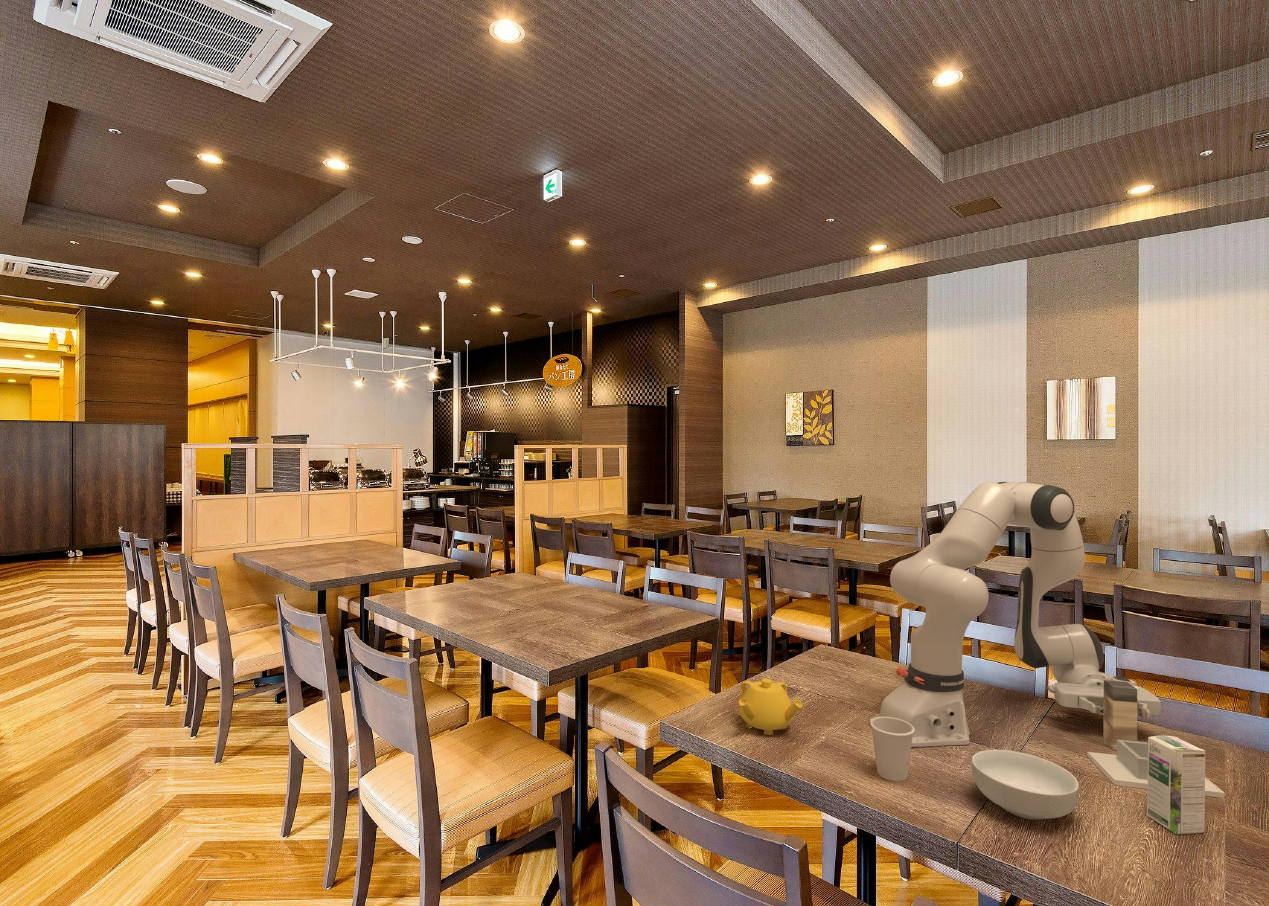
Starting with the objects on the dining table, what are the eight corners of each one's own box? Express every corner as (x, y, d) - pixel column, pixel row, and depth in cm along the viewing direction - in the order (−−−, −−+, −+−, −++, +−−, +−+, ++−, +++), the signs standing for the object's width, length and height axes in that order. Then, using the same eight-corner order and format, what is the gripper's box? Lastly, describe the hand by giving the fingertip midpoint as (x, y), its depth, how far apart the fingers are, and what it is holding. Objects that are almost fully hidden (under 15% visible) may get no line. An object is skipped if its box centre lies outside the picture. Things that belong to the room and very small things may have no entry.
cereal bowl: (1102, 826, 109) (1102, 786, 109) (1029, 843, 105) (1029, 801, 105) (1018, 778, 126) (1018, 743, 126) (950, 790, 121) (951, 754, 121)
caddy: (1224, 798, 118) (1224, 772, 118) (1114, 785, 123) (1114, 759, 123) (1186, 767, 130) (1186, 743, 130) (1087, 756, 134) (1087, 733, 134)
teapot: (739, 739, 142) (739, 690, 142) (733, 714, 155) (733, 670, 155) (803, 742, 141) (803, 692, 141) (791, 716, 155) (792, 671, 155)
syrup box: (1145, 816, 112) (1145, 735, 112) (1175, 814, 113) (1175, 734, 113) (1175, 835, 107) (1175, 750, 107) (1206, 833, 107) (1207, 749, 107)
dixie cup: (923, 780, 124) (924, 730, 124) (890, 788, 121) (890, 736, 121) (893, 761, 132) (893, 714, 132) (861, 767, 129) (861, 719, 129)
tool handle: (1137, 753, 136) (1137, 689, 136) (1113, 750, 137) (1113, 687, 137) (1126, 743, 140) (1126, 681, 141) (1103, 741, 142) (1103, 679, 142)
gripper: (1044, 672, 154) (1067, 693, 141) (1141, 680, 149) (1175, 703, 136) (1044, 698, 154) (1067, 721, 141) (1141, 707, 149) (1175, 732, 136)
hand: (1121, 712), depth 138 cm, fingers open, 8 cm apart
